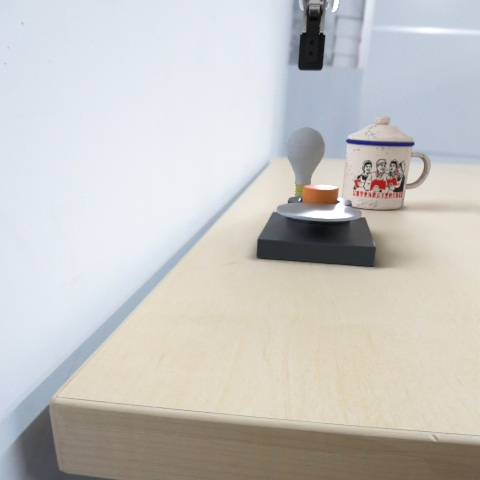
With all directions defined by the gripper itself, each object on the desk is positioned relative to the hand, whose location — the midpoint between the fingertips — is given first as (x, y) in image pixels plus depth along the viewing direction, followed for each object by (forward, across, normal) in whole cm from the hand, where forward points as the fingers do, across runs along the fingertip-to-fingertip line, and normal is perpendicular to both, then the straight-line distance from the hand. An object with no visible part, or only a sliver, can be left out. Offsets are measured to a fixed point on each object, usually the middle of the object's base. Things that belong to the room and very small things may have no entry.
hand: (310, 69), depth 65 cm
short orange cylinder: (+14, -21, -2) cm, 25 cm away
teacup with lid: (+17, 0, -12) cm, 21 cm away
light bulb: (+17, +1, 0) cm, 17 cm away
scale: (+17, -25, -2) cm, 30 cm away
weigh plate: (+13, -28, -2) cm, 31 cm away
